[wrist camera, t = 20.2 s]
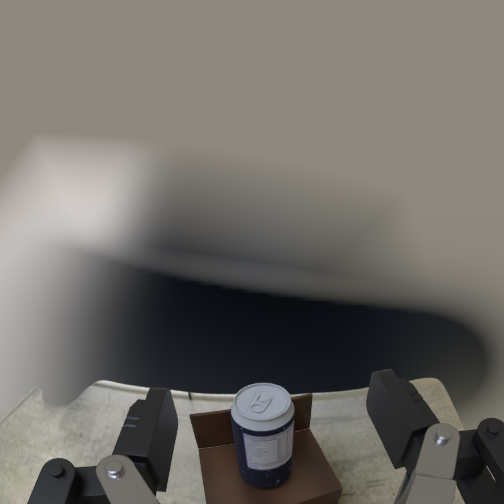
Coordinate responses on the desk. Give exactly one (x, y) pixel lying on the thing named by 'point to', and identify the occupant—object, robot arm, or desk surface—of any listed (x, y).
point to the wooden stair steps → (263, 499)
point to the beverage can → (263, 434)
